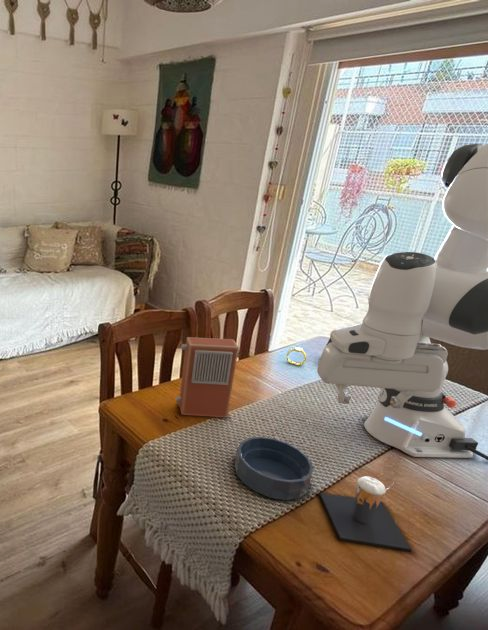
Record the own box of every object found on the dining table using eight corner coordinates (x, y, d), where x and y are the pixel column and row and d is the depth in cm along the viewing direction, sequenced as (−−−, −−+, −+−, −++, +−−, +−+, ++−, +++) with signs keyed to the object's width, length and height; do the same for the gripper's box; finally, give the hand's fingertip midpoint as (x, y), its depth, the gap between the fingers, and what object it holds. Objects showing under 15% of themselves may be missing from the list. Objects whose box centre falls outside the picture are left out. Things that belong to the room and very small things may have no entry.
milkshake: (380, 532, 84) (394, 491, 80) (347, 520, 87) (360, 479, 83) (379, 517, 88) (393, 476, 84) (348, 505, 90) (360, 466, 87)
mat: (381, 503, 92) (381, 501, 92) (410, 551, 81) (411, 549, 81) (319, 494, 94) (319, 492, 94) (339, 540, 83) (340, 537, 83)
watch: (284, 363, 153) (288, 348, 151) (285, 360, 155) (289, 345, 153) (304, 367, 150) (307, 352, 148) (304, 364, 152) (308, 349, 150)
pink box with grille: (174, 403, 128) (226, 406, 126) (177, 416, 121) (232, 420, 120) (181, 335, 120) (237, 338, 119) (185, 345, 114) (244, 349, 112)
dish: (297, 459, 105) (301, 441, 103) (317, 506, 91) (322, 486, 89) (230, 450, 108) (233, 433, 106) (240, 494, 94) (244, 475, 92)
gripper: (440, 337, 82) (419, 401, 87) (322, 330, 86) (308, 391, 91) (461, 352, 77) (437, 419, 82) (333, 343, 80) (318, 408, 85)
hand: (368, 404), depth 86 cm, fingers open, 8 cm apart
